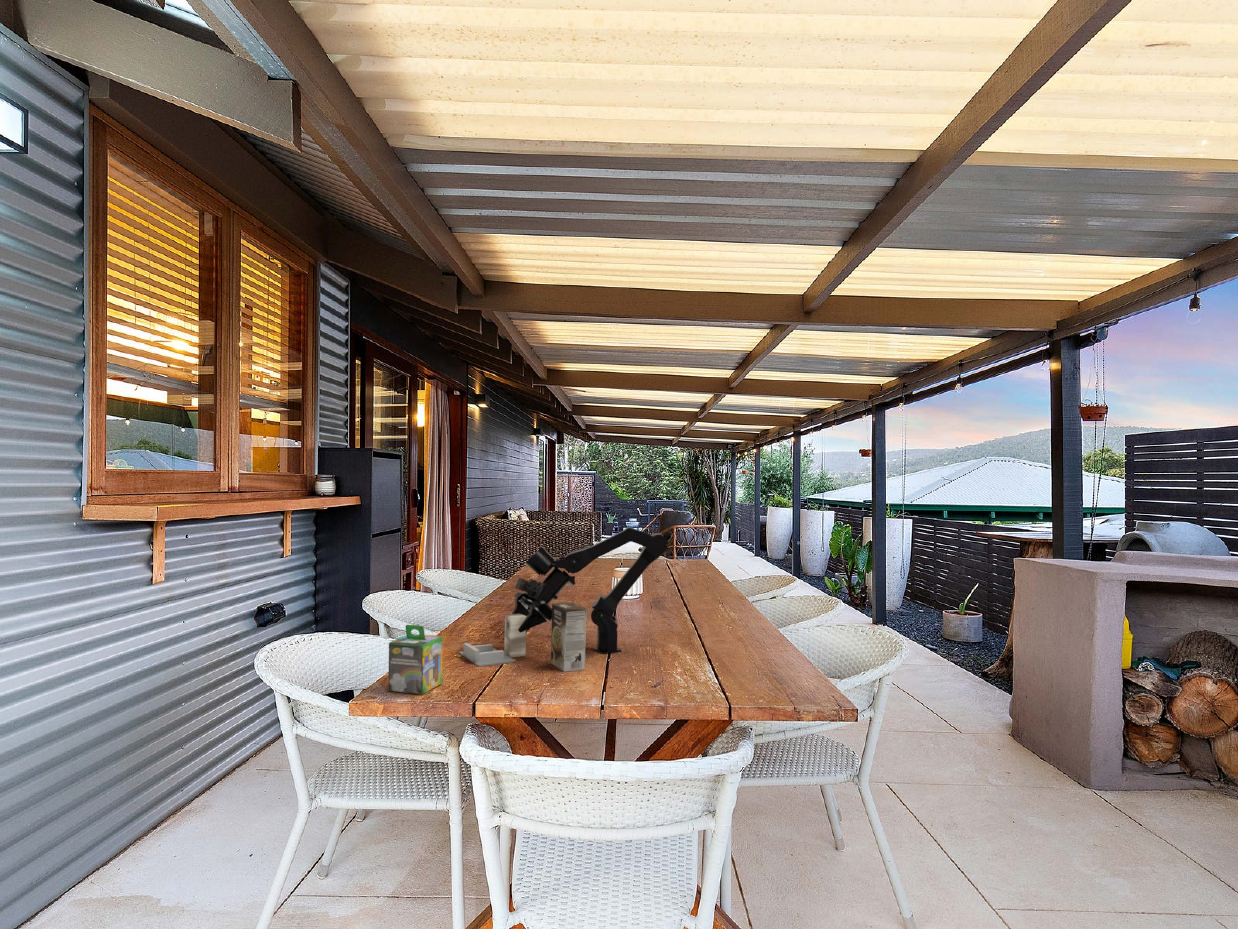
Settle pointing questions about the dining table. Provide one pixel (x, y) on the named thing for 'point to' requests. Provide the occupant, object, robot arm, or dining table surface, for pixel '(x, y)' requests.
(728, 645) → the dining table surface
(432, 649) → the chalk box
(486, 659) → the keeper bracket
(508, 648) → the link block
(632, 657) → the dining table surface
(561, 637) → the coffee box
